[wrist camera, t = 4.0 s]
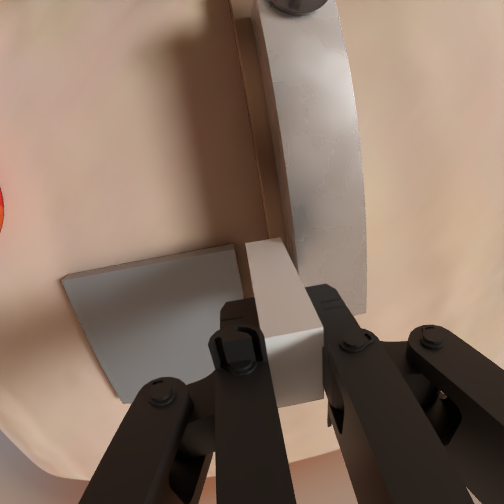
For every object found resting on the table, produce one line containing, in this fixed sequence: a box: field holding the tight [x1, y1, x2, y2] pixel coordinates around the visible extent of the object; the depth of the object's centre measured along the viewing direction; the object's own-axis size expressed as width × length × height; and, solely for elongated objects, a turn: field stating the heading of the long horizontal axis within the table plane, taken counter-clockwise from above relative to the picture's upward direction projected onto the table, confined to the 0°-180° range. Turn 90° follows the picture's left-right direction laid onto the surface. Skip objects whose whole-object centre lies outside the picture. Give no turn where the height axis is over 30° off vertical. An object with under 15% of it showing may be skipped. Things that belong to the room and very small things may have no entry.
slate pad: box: [62, 244, 244, 404], centre depth 18 cm, size 10×10×1 cm
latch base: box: [229, 0, 288, 252], centre depth 14 cm, size 17×4×1 cm, turn 10°
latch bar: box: [250, 0, 367, 316], centre depth 12 cm, size 15×3×3 cm, turn 9°
